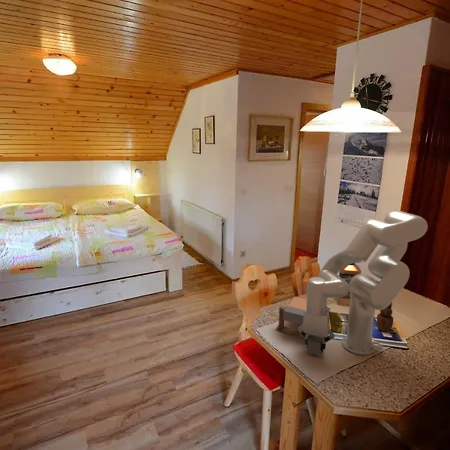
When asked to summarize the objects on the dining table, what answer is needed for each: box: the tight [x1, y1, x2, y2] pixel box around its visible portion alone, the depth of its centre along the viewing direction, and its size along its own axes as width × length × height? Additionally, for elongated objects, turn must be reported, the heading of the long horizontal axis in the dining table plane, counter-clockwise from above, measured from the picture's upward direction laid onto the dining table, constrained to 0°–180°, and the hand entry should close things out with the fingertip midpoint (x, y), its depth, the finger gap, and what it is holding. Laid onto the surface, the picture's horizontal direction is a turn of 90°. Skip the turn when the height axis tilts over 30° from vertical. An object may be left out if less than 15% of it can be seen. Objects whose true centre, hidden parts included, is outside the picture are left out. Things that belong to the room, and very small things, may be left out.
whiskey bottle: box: [335, 263, 362, 307], centre depth 170 cm, size 10×10×32 cm
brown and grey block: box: [283, 296, 307, 325], centre depth 146 cm, size 14×19×4 cm
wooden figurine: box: [376, 302, 394, 332], centre depth 146 cm, size 7×6×15 cm
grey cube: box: [306, 334, 322, 357], centre depth 131 cm, size 5×6×6 cm
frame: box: [275, 305, 310, 339], centre depth 143 cm, size 21×4×11 cm, turn 62°
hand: (315, 347), depth 131 cm, fingers closed on grey cube, 5 cm apart
